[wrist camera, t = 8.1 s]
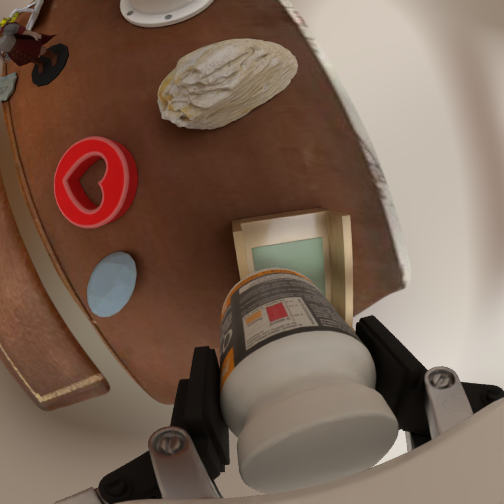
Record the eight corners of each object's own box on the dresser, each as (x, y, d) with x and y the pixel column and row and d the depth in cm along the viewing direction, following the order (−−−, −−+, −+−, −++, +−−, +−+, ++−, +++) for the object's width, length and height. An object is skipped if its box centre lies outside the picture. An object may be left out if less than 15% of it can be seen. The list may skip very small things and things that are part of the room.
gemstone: (159, 320, 27) (130, 306, 23) (108, 332, 28) (78, 320, 24) (156, 258, 31) (132, 237, 26) (109, 275, 32) (84, 258, 27)
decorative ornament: (61, 157, 24) (46, 156, 21) (129, 127, 25) (118, 122, 22) (77, 233, 27) (63, 239, 24) (146, 211, 27) (137, 214, 24)
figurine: (30, 94, 21) (-43, 71, 7) (35, 53, 19) (-26, 21, 5) (67, 74, 22) (-5, 34, 7) (71, 33, 20) (14, -13, 5)
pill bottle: (203, 289, 14) (173, 446, 5) (302, 247, 14) (416, 354, 5) (245, 366, 16) (263, 512, 6) (331, 330, 16) (412, 455, 6)
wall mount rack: (36, 25, 15) (0, 26, 10) (17, 69, 22) (-11, 72, 18) (64, -37, 11) (35, -40, 6) (36, 7, 18) (12, 7, 14)
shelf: (231, 220, 28) (234, 254, 15) (323, 207, 29) (395, 229, 15) (248, 321, 31) (261, 408, 18) (329, 306, 32) (383, 376, 18)
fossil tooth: (299, 88, 26) (185, 154, 26) (269, 47, 24) (153, 110, 24) (349, 46, 15) (175, 132, 15) (303, -7, 13) (128, 66, 13)
